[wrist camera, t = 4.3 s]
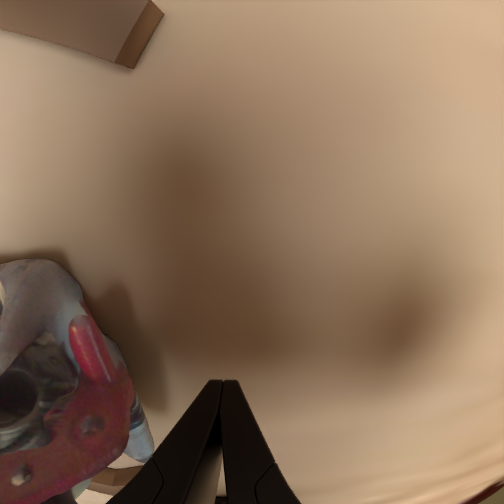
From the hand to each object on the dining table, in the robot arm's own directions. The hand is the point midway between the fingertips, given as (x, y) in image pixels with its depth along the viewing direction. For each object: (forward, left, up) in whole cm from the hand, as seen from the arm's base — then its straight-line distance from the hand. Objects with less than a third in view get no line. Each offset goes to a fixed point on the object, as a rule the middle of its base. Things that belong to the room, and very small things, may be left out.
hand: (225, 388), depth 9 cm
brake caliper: (-1, +8, -3) cm, 9 cm away
